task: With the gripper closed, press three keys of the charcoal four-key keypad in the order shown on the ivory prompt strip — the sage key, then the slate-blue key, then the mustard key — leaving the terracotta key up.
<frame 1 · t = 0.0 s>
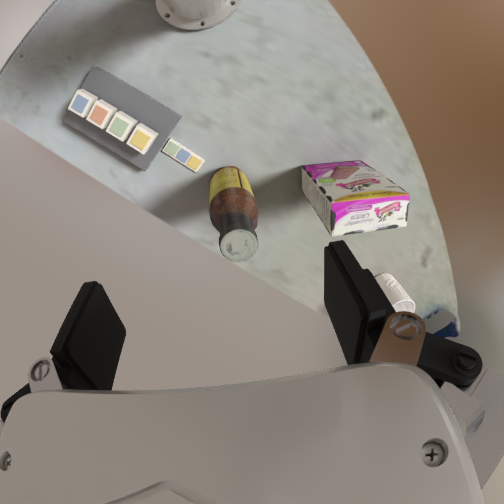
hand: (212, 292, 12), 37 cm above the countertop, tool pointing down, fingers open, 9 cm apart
key blue: (85, 102, 34), point 4 cm above the countertop, slide at 0.0 cm
key terracotta: (103, 113, 35), point 4 cm above the countertop, slide at 0.0 cm
prompt strip: (183, 155, 44), on the countertop
sauce bottle: (230, 182, 47), on the countertop
key mustard: (143, 137, 38), point 4 cm above the countertop, slide at 0.0 cm
white cup: (380, 284, 62), on the countertop
candy bar box: (331, 174, 48), on the countertop
key sage: (123, 125, 37), point 4 cm above the countertop, slide at 0.0 cm
keypad board: (121, 116, 39), on the countertop
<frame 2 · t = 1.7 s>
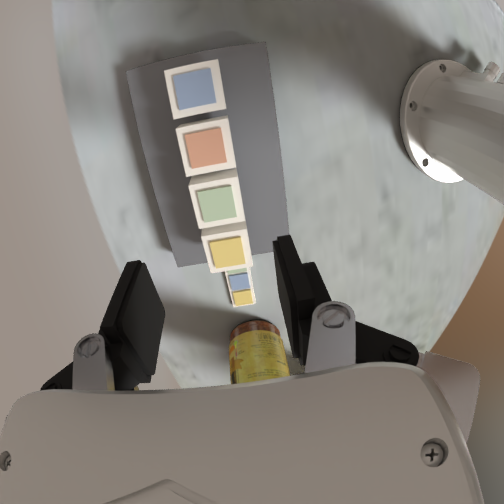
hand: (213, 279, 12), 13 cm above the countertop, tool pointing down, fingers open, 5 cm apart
key blue: (197, 88, 16), point 4 cm above the countertop, slide at 0.0 cm
key terracotta: (207, 142, 18), point 4 cm above the countertop, slide at 0.0 cm
prompt strip: (239, 278, 29), on the countertop
sauce bottle: (255, 335, 34), on the countertop
key mustard: (227, 240, 22), point 4 cm above the countertop, slide at 0.0 cm
key sage: (218, 194, 20), point 4 cm above the countertop, slide at 0.0 cm
keypad board: (214, 156, 23), on the countertop
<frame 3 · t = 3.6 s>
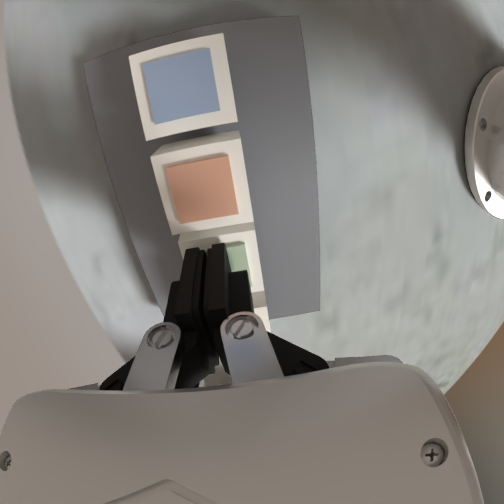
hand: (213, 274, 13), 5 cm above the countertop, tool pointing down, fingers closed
key blue: (188, 85, 10), point 4 cm above the countertop, slide at 0.0 cm
key terracotta: (206, 175, 12), point 4 cm above the countertop, slide at 0.0 cm
key mustard: (237, 310, 16), point 4 cm above the countertop, slide at 0.0 cm
key sage: (223, 247, 14), point 3 cm above the countertop, slide at 0.5 cm, touching gripper
keypad board: (218, 187, 16), on the countertop
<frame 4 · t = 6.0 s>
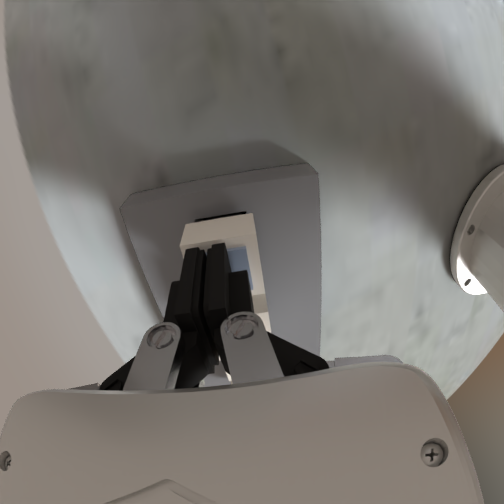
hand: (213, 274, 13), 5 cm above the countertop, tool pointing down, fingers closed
key blue: (224, 250, 14), point 3 cm above the countertop, slide at 0.6 cm, touching gripper
key terracotta: (238, 315, 16), point 4 cm above the countertop, slide at 0.0 cm
key sage: (248, 344, 19), point 3 cm above the countertop, slide at 1.0 cm
keypad board: (241, 297, 20), on the countertop
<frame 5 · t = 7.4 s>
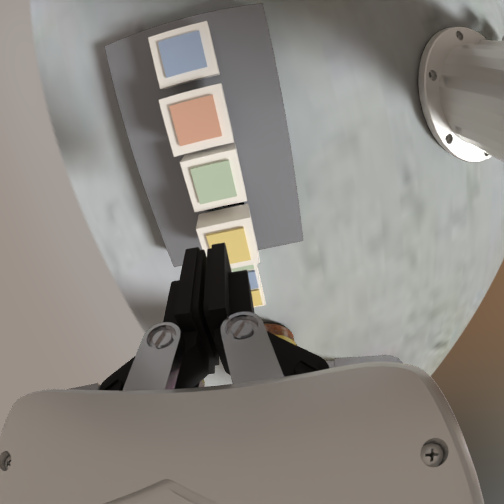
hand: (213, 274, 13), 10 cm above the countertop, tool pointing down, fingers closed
key blue: (187, 56, 14), point 3 cm above the countertop, slide at 1.0 cm
key terracotta: (199, 116, 15), point 4 cm above the countertop, slide at 0.0 cm
prompt strip: (246, 277, 26), on the countertop
sauce bottle: (266, 339, 31), on the countertop
key mustard: (228, 232, 19), point 4 cm above the countertop, slide at 0.0 cm
key sage: (215, 173, 18), point 3 cm above the countertop, slide at 1.0 cm
keypad board: (210, 137, 19), on the countertop
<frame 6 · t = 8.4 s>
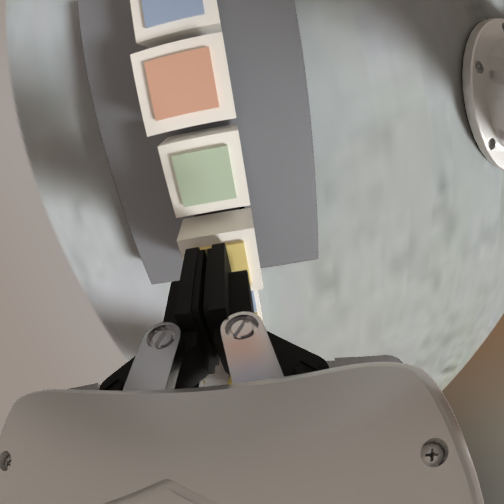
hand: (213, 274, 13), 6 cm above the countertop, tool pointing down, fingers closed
key blue: (179, 7, 9), point 3 cm above the countertop, slide at 1.0 cm
key terracotta: (188, 83, 10), point 4 cm above the countertop, slide at 0.0 cm
key mustard: (222, 245, 14), point 4 cm above the countertop, slide at 0.1 cm, touching gripper
key sage: (207, 164, 13), point 3 cm above the countertop, slide at 1.0 cm
keypad board: (205, 117, 14), on the countertop
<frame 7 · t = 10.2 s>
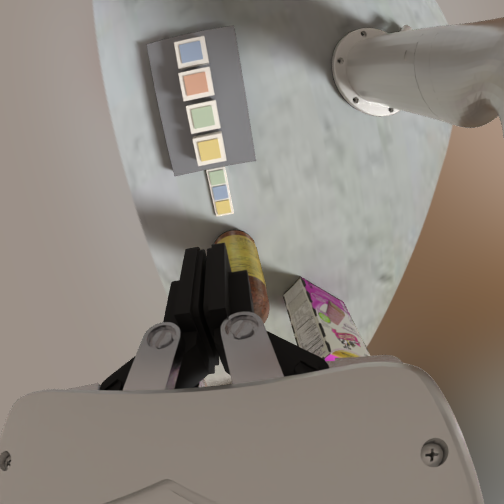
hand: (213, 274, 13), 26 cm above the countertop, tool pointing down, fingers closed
key blue: (192, 53, 26), point 3 cm above the countertop, slide at 1.0 cm
key terracotta: (197, 84, 27), point 4 cm above the countertop, slide at 0.0 cm
prompt strip: (220, 191, 38), on the countertop
sauce bottle: (234, 247, 43), on the countertop
key mustard: (210, 147, 32), point 3 cm above the countertop, slide at 1.0 cm
candy bar box: (314, 297, 49), on the countertop
key sage: (204, 115, 30), point 3 cm above the countertop, slide at 1.0 cm
keypad board: (202, 99, 31), on the countertop
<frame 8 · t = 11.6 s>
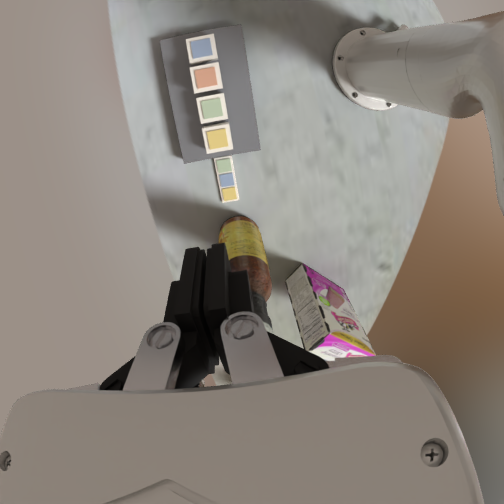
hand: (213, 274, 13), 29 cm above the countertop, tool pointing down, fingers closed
key blue: (202, 50, 28), point 3 cm above the countertop, slide at 1.0 cm
key terracotta: (207, 78, 29), point 4 cm above the countertop, slide at 0.0 cm
prompt strip: (226, 178, 40), on the countertop
sauce bottle: (239, 233, 45), on the countertop
key mustard: (218, 136, 34), point 3 cm above the countertop, slide at 1.0 cm
candy bar box: (315, 283, 52), on the countertop
key sage: (212, 107, 32), point 3 cm above the countertop, slide at 1.0 cm
keypad board: (211, 92, 33), on the countertop
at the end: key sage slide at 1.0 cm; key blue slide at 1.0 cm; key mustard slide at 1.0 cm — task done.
